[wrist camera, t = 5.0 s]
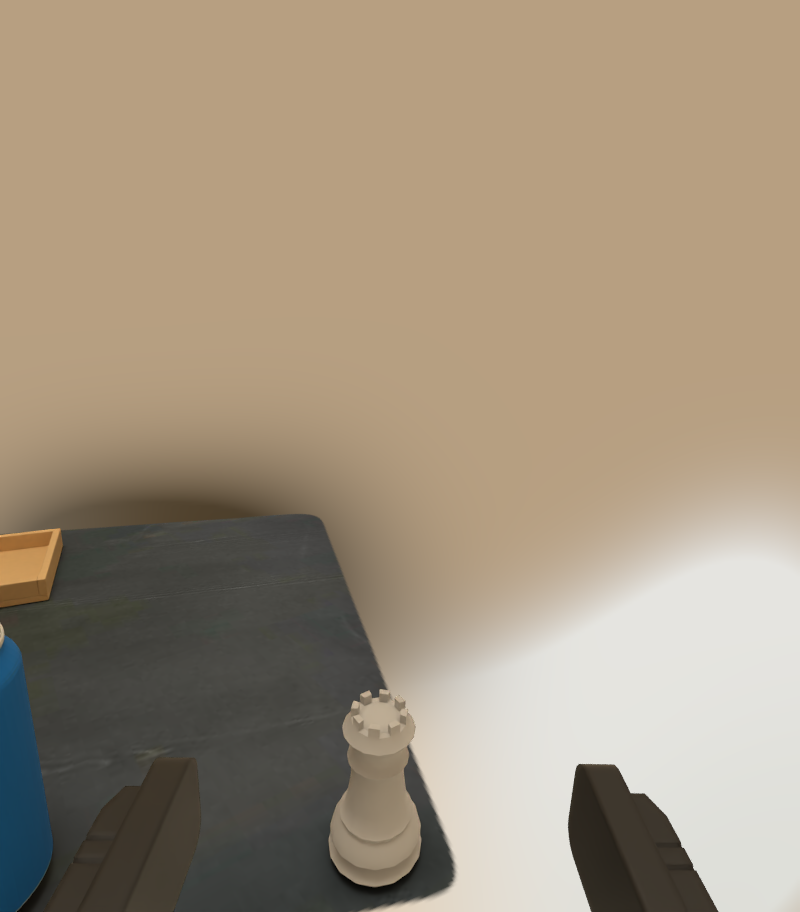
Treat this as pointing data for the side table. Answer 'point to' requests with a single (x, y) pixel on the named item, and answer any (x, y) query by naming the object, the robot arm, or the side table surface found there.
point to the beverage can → (19, 788)
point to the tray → (28, 565)
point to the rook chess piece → (376, 795)
